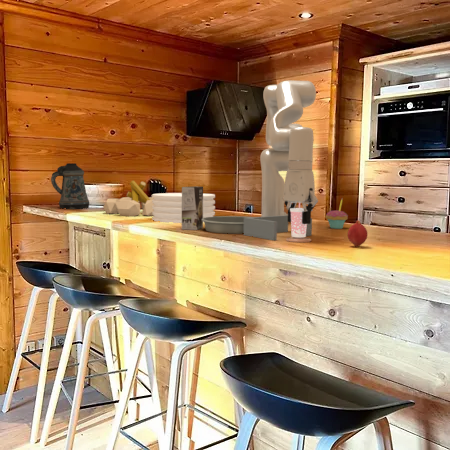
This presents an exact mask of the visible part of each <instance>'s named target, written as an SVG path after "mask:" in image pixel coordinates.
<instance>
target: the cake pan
mask: <svg viewBox="0 0 450 450" xmlns="http://www.w3.org/2000/svg"><path fill="white" fill-rule="evenodd" d="M249 217H250V216H243V215H242V216H240V215H238V216H237V215H226V216H225V215H221V216H219V215H218V216H215V215H214V216H213V217H206V218H202V221H204V222H203V224H204V227H205V231H207V232H208V233H209V232H210V233H216V234H227V233H228V234H234V235H236V234H237V235H241V234H242V233H244V218H249Z"/></svg>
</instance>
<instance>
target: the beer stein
mask: <svg viewBox="0 0 450 450" xmlns="http://www.w3.org/2000/svg"><path fill="white" fill-rule="evenodd" d="M84 174H85V171H84V170H83V169H82V168H81V167H80V166H78V164H77V163H75V162H74V163H71V162H68V163H66V164H65V165H61V166H59V167H57V171H54V172H53V173H52V174H51V178H50V182H51V184H52V187H53V188H54V189H55V191H56V192H57V194H60V200H59V202H58V205H59V209H60V208H66V209H65V210H84V209H83V208H88V209H89V207H90V200H89V197H88V194H87V190H86V185H85V179H84ZM58 177H62V184H61V188H60V187H59V185H58V183H57V181H56V179H57V178H58Z"/></svg>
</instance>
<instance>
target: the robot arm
mask: <svg viewBox="0 0 450 450" xmlns="http://www.w3.org/2000/svg"><path fill="white" fill-rule="evenodd" d="M316 97H317V90H316V86H315V84H314V83H313V82H312V81H311V80H293V79H292V80H291V79H289V80H284V81H281V82H279V83H278V84H269V85H267V86H265V87H264V90H263V102H264V106H265V108H266V109H265V110H266V115H267V116H266V126H265V127H266V128H265V129H266V130H265V142H266V144H267V145H268V146H270V147H271V148H266V149H264V150H262V152H261V153H260V156H259V157H260V159H259V160H260V167H261V215H260V217H266V216H284V215H287V216H288V223H291V211H290V208H297V207H296V206H297V203H298V204H299V203H300V204H301V205H302V208H303V209H304V211H303V212H302V224H310V223H311V218H312V212H313V210H314V208H315V207H316V205H317V204H318V202H319V199H318V198H317V195H316V194H315V193H316V192H315V191H316V190H315V189H316V188H315V186H316V185H315V176H314V171H313V159H314V156H313V155H314V154H313V152H314V151H313V150H314V130H313V129H312V128H311V127H308V126H307V127H305V126H303V125H302V124H300V123H296V122H297V121H299V120H300V119H301V118H302V117H303V115H304V108H307V107H310V106H312V105H313V104H314V102H315V101H316V99H317V98H316ZM280 172H286V173H285V177H284V178H283V177H282V175H281V174H280ZM285 208H286V210H287V212H286V211H285Z"/></svg>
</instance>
